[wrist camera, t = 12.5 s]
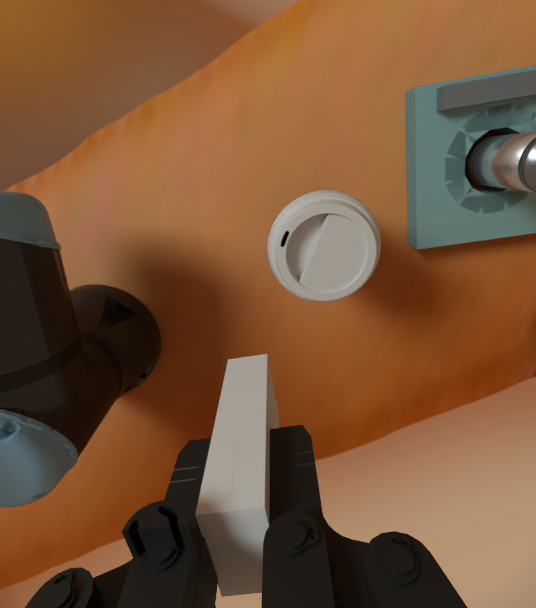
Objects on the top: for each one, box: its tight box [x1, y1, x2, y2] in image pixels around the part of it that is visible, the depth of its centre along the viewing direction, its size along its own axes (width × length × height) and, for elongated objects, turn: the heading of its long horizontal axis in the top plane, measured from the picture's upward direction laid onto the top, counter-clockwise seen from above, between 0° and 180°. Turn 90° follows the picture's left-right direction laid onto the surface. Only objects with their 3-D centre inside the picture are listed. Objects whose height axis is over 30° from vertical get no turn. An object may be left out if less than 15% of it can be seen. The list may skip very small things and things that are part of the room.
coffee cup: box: [268, 190, 381, 302], centre depth 36 cm, size 10×10×15 cm
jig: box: [406, 66, 536, 249], centre depth 38 cm, size 16×16×5 cm
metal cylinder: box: [465, 132, 536, 192], centre depth 35 cm, size 5×5×12 cm
